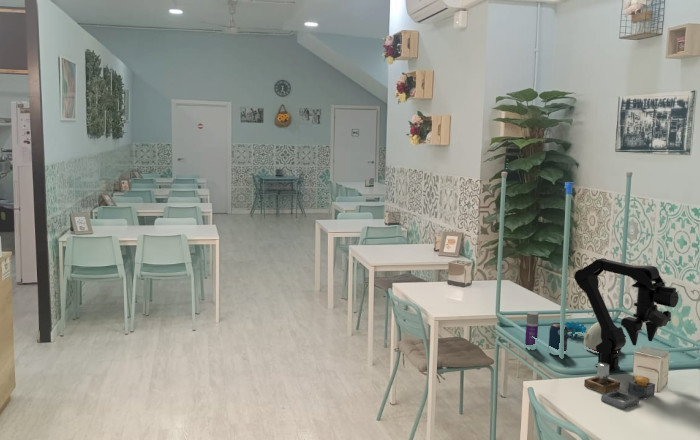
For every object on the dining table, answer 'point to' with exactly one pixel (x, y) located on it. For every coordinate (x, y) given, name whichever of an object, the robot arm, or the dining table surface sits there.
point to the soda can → (557, 336)
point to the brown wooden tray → (601, 388)
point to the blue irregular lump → (575, 327)
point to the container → (531, 328)
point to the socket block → (629, 395)
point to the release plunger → (642, 380)
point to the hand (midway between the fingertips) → (642, 343)
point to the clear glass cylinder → (603, 373)
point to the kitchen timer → (593, 337)
